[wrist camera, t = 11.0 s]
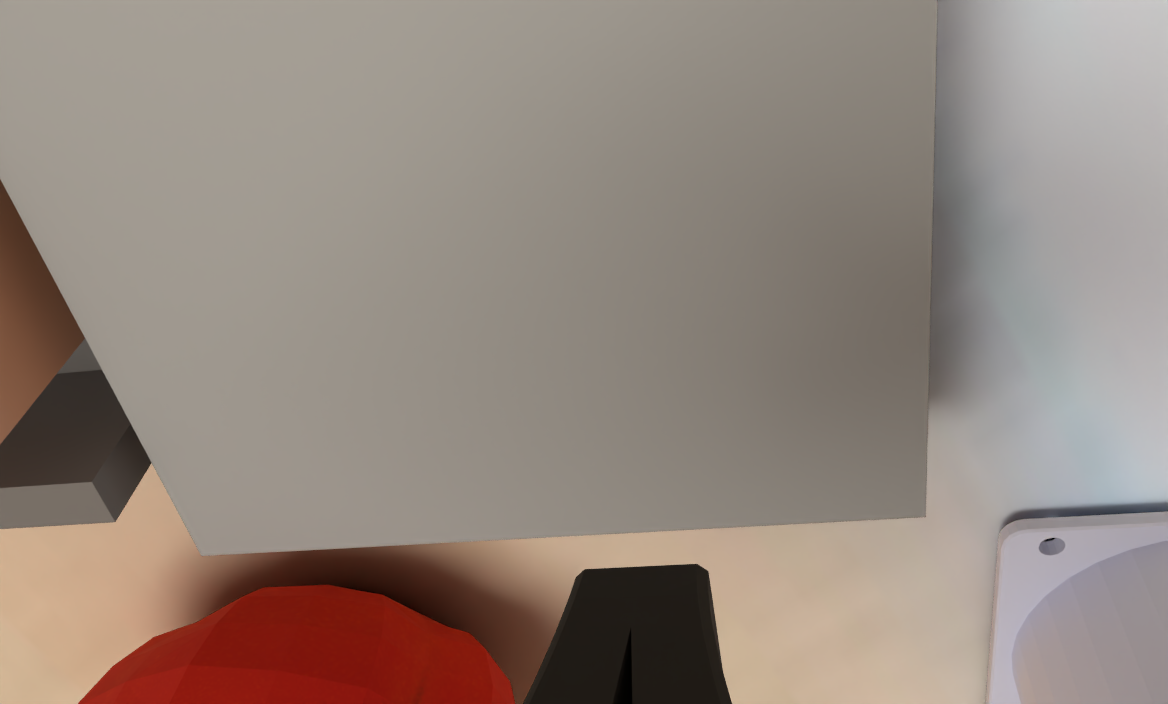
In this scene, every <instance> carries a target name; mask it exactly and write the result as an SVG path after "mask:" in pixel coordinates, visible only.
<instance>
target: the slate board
mask: <svg viewBox="0 0 1168 704" xmlns="http://www.w3.org/2000/svg"><path fill="white" fill-rule="evenodd" d="M937 7H938V0H0V179H1V181H2V183H3V185H4V187H5V189H6V191H7V193H8V194H9V196H10V198H11V200H12V202H13V204H14V206H15V208H16V209H17V211H18V213H19V215H20V217H21V219H22V221H23V223H24V224H25V226H26V228H27V230H28V232H29V234H30V236H31V238H32V239H33V241H34V243H35V245H36V247H37V249H38V251H39V253H40V254H41V256H42V258H43V260H44V262H45V264H46V266H47V268H48V269H49V271H50V273H51V275H52V277H53V279H54V281H55V283H56V284H57V286H58V288H59V290H60V292H61V294H62V296H63V298H64V299H65V301H66V303H67V305H68V307H69V309H70V311H71V313H72V314H73V316H74V318H75V320H76V322H77V324H78V326H79V327H80V329H81V331H82V333H83V335H84V337H85V339H86V341H87V342H88V344H89V346H90V348H91V350H92V352H93V354H94V356H95V357H96V359H97V361H98V363H99V365H100V367H101V369H102V371H103V372H104V374H105V376H106V378H107V380H108V382H109V384H110V386H111V387H112V389H113V391H114V393H115V395H116V397H117V399H118V401H119V402H120V404H121V406H122V408H123V410H124V412H125V414H126V416H127V417H128V419H129V421H130V423H131V425H132V427H133V429H134V431H135V432H136V434H137V436H138V438H139V440H140V442H141V444H142V446H143V447H144V449H145V451H146V453H147V455H148V457H149V459H150V461H151V462H152V464H153V466H154V468H155V470H156V472H157V474H158V476H159V477H160V479H161V481H162V483H163V485H164V487H165V489H166V491H167V492H168V494H169V496H170V498H171V500H172V502H173V504H174V506H175V507H176V509H177V511H178V513H179V515H180V517H181V519H182V521H183V522H184V524H185V526H186V528H187V530H188V532H189V534H190V536H191V537H192V539H193V541H194V543H195V545H196V547H197V549H198V551H199V552H200V554H201V556H210V555H229V554H248V553H266V552H285V551H303V550H322V549H341V548H359V547H378V546H397V545H415V544H434V543H452V542H471V541H490V540H508V539H527V538H545V537H564V536H583V535H601V534H620V533H639V532H657V531H676V530H694V529H713V528H732V527H750V526H769V525H787V524H806V523H825V522H843V521H862V520H880V519H899V518H918V517H926V481H927V438H928V395H929V352H930V309H931V266H932V223H933V180H934V137H935V94H936V51H937Z"/></svg>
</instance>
